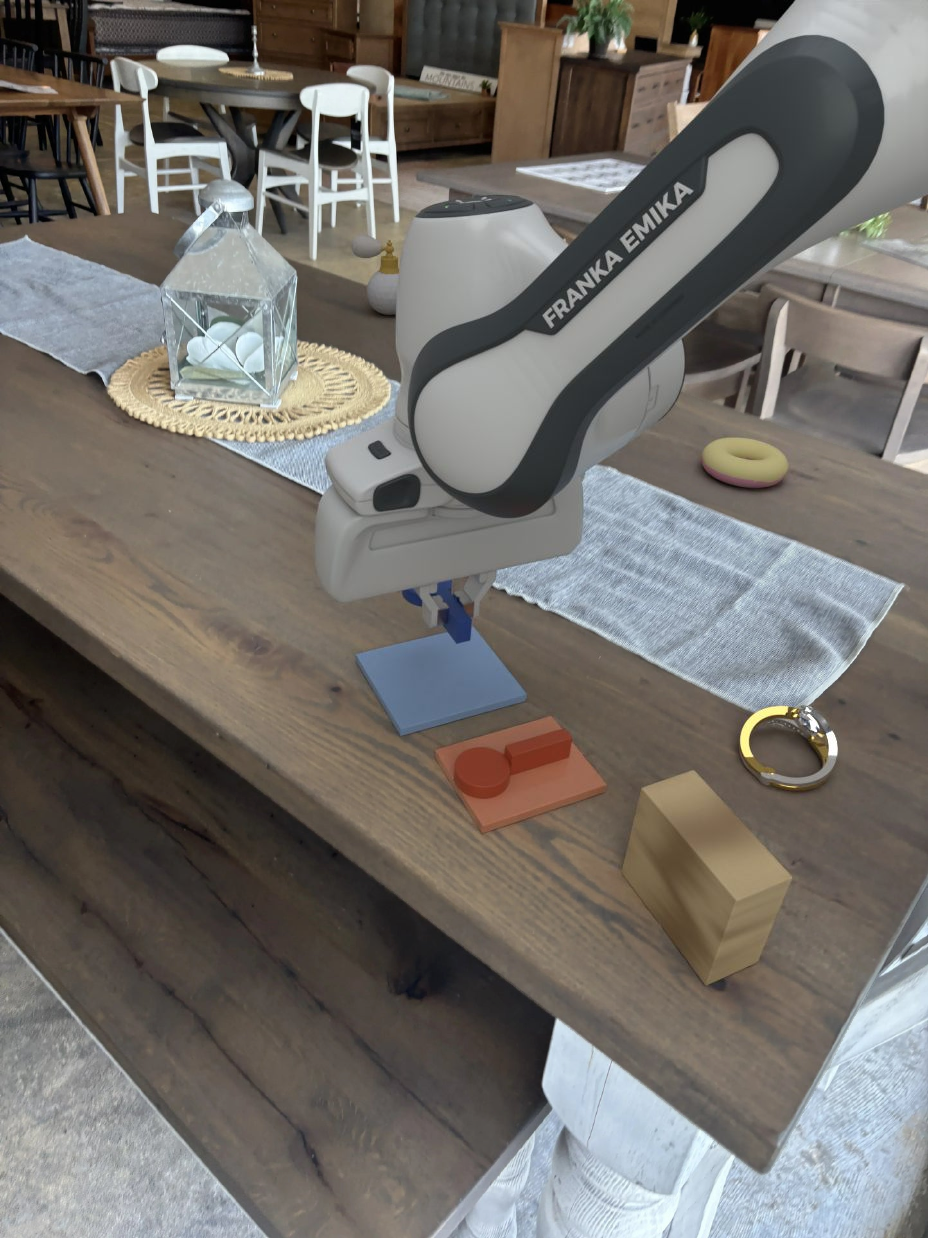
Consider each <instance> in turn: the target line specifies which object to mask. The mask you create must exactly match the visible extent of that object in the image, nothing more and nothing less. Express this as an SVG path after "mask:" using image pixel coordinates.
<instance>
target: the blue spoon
mask: <svg viewBox="0 0 928 1238" xmlns="http://www.w3.org/2000/svg"><path fill="white" fill-rule="evenodd" d="M452 590H453V580H449V581H444V582H439V583H437V592H436V593H432V594H431V593H430V596H431V597H432V596H437V595H440V596H441V597H442V599H443V602H445V603H446V604H447V605H448V606H449V615H448V617H447V618H448V623H447V624H445V625H442V626H443V628H444V629H445V631H446V632H448V633H449V635H450V636H451V637H452V639H453V640H454V641H455V643H456V644H458V643H463V642H467V641H470V640H471V626H473V618H470V616H469V615H468V614H467V613H466V611H465V610H464V609H463V608H462V606H461V605H460V604H459V602H458V601H457V600H456V599H455V598H454V596H453V591H452ZM401 595H402V597H403V599H404V600H405V601H406V602H407V603H409V604H411V605H413V606H417V607H420V608H422V600H421V598H420V597H419V596H418V594H417V593H416V591H415V590H414V588H412V589H407V590H402V591H401Z"/></svg>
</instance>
